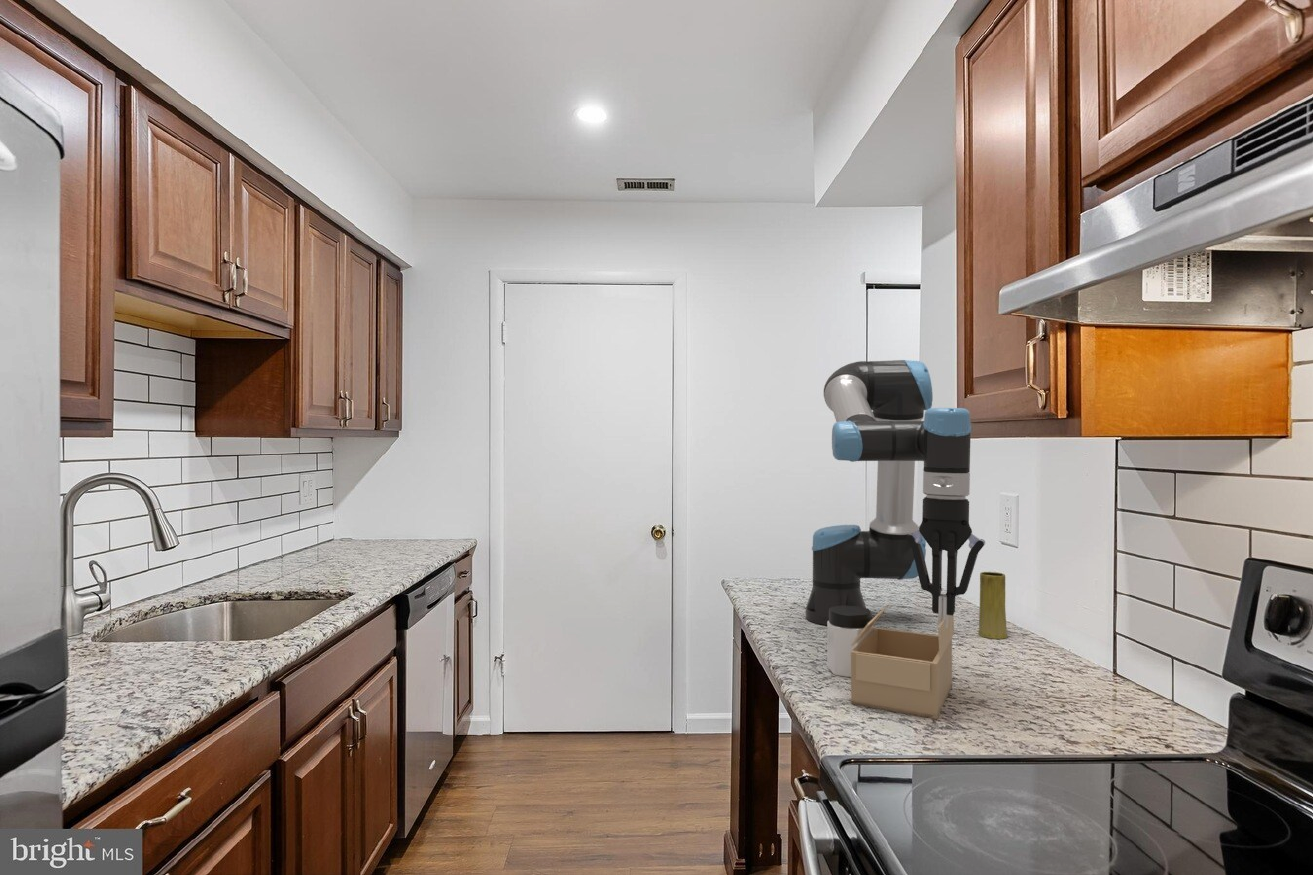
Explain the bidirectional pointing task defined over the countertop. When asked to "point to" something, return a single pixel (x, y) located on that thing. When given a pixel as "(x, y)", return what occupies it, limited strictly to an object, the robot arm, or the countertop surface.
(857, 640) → the flap
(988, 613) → the vase
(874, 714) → the countertop surface
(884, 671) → the carton
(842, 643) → the jar
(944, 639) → the flap
